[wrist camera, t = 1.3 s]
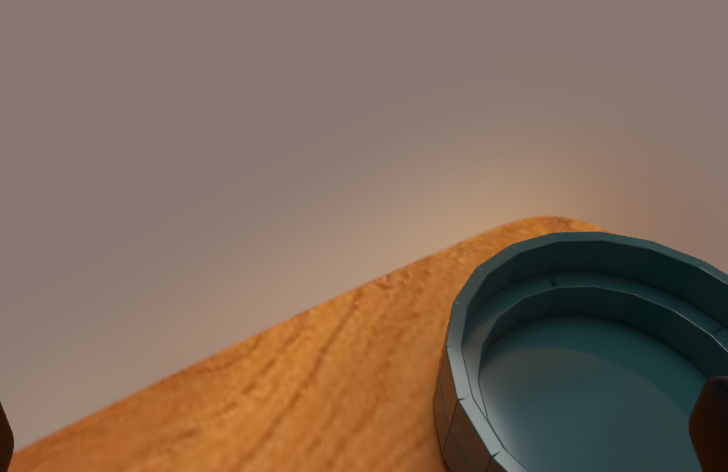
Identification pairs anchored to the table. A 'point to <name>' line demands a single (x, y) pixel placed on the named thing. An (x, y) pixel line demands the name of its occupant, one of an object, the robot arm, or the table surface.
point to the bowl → (580, 357)
